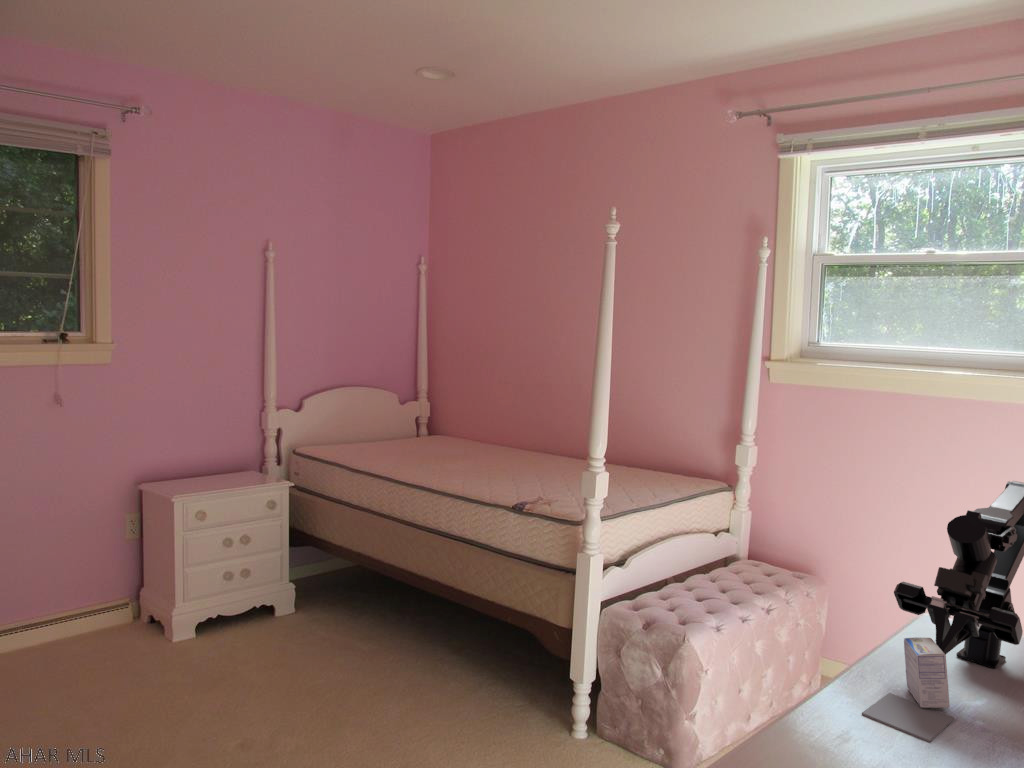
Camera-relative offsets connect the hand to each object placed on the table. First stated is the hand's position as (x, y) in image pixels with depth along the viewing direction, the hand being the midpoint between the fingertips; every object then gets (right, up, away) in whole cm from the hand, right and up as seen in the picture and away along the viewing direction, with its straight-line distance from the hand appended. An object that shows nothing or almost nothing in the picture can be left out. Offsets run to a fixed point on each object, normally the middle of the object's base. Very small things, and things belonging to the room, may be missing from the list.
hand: (938, 655), depth 135 cm
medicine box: (-2, -7, -1) cm, 7 cm away
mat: (-8, -7, -7) cm, 13 cm away
